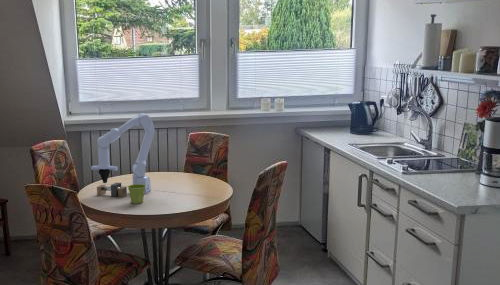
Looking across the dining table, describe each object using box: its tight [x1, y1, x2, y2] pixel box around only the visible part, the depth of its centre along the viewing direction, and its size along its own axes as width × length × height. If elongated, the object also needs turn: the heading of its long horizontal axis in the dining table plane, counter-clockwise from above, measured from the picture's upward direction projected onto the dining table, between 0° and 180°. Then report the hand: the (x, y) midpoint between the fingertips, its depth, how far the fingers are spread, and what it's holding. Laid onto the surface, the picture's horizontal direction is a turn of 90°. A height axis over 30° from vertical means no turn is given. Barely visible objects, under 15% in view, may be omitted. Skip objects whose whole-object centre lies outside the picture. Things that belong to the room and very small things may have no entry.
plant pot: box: [127, 184, 146, 205], centre depth 275 cm, size 9×9×9 cm
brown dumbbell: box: [96, 184, 128, 198], centre depth 289 cm, size 15×5×5 cm, turn 74°
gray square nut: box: [110, 182, 122, 197], centre depth 288 cm, size 3×6×6 cm, turn 164°
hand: (105, 182), depth 290 cm, fingers closed
